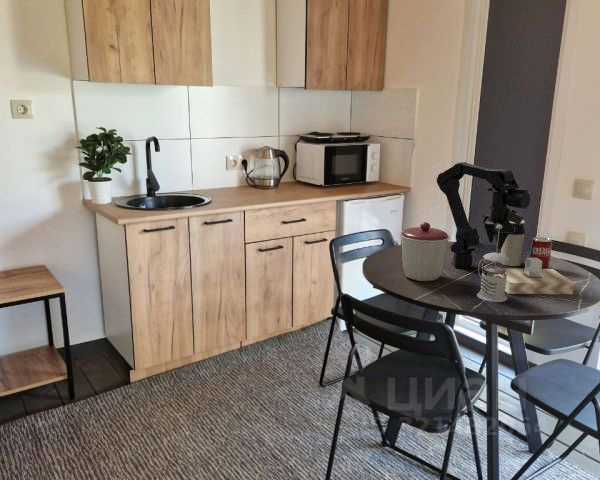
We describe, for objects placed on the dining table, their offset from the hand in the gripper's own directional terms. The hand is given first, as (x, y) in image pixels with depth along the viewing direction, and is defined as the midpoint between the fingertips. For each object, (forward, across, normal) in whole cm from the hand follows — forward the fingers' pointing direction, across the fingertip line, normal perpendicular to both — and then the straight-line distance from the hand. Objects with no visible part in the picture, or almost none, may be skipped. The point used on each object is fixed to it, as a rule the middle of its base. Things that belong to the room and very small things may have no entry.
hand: (495, 245), depth 192 cm
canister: (+12, -2, +27) cm, 30 cm away
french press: (+12, -21, +8) cm, 26 cm away
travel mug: (+12, +16, -13) cm, 24 cm away
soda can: (+12, +10, -22) cm, 27 cm away
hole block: (+12, -11, -10) cm, 19 cm away
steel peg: (+12, -11, -10) cm, 19 cm away
